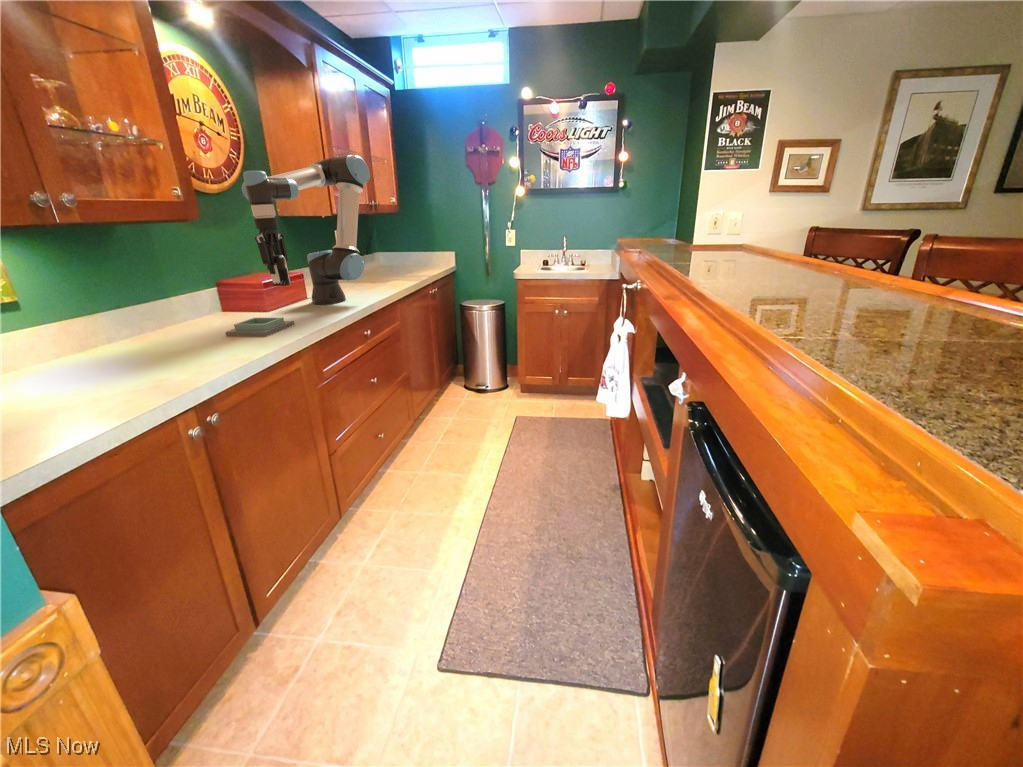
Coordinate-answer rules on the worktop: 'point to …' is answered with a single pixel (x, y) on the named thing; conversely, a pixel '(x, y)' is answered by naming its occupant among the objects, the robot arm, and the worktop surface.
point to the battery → (281, 270)
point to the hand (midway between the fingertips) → (280, 281)
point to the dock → (259, 327)
